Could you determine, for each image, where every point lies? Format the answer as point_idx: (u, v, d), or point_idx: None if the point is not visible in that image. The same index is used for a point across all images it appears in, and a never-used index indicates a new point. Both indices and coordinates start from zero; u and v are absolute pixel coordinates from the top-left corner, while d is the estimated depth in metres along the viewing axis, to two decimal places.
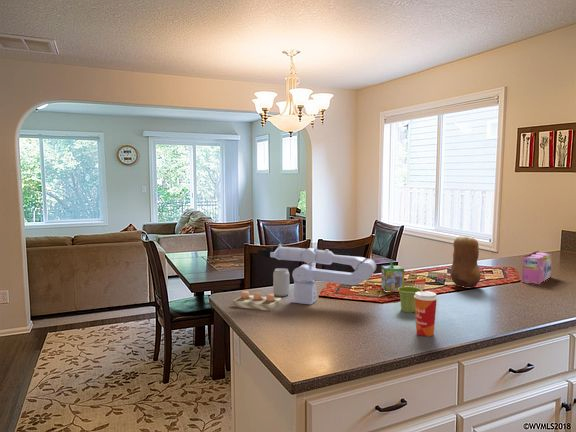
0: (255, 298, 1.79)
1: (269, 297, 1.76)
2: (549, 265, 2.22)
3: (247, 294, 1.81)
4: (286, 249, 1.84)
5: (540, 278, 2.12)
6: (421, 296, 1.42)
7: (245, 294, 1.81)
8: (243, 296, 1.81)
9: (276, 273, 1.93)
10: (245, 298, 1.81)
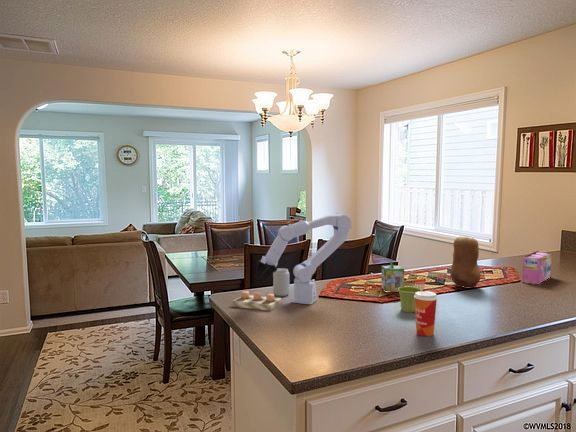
0: (255, 298, 1.79)
1: (269, 297, 1.76)
2: (549, 265, 2.22)
3: (247, 294, 1.81)
4: (269, 250, 1.80)
5: (540, 278, 2.12)
6: (421, 296, 1.42)
7: (245, 294, 1.81)
8: (243, 296, 1.81)
9: (276, 273, 1.93)
10: (245, 298, 1.81)
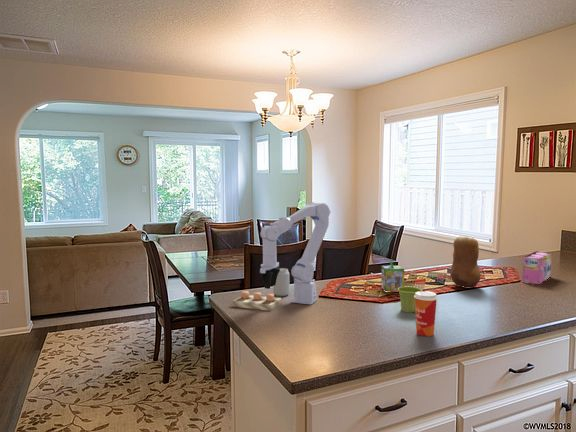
0: (255, 298, 1.79)
1: (269, 297, 1.76)
2: (549, 265, 2.22)
3: (247, 294, 1.81)
4: (263, 257, 1.76)
5: (540, 278, 2.12)
6: (421, 296, 1.42)
7: (245, 294, 1.81)
8: (243, 296, 1.81)
9: None
10: (245, 298, 1.81)
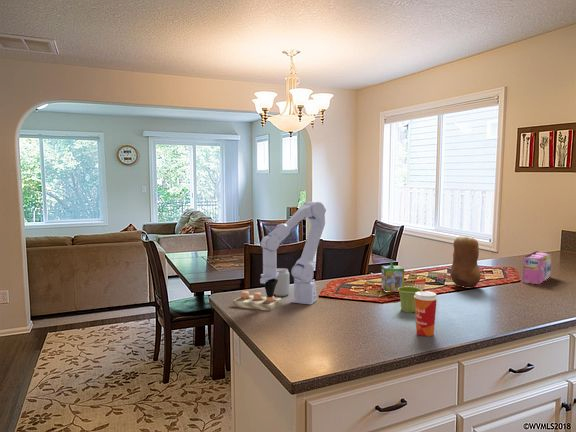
0: (255, 298, 1.79)
1: (269, 299, 1.76)
2: (549, 265, 2.22)
3: (247, 294, 1.81)
4: (263, 267, 1.76)
5: (540, 278, 2.12)
6: (421, 296, 1.42)
7: (245, 294, 1.81)
8: (243, 296, 1.81)
9: None
10: (245, 298, 1.81)
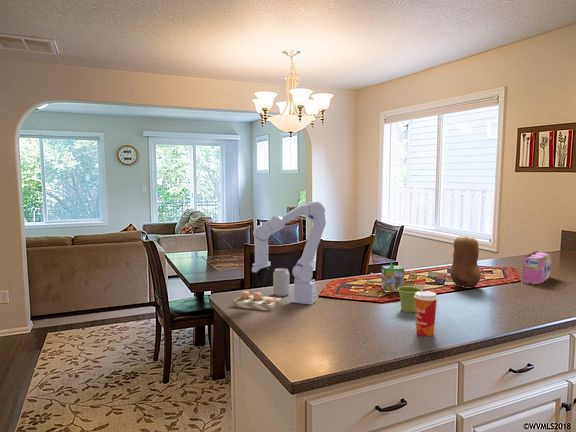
0: (255, 298, 1.79)
1: None
2: (549, 265, 2.22)
3: (247, 294, 1.81)
4: (255, 256, 1.77)
5: (541, 278, 2.12)
6: (421, 296, 1.42)
7: (245, 294, 1.81)
8: (243, 296, 1.81)
9: (276, 273, 1.93)
10: (245, 298, 1.81)
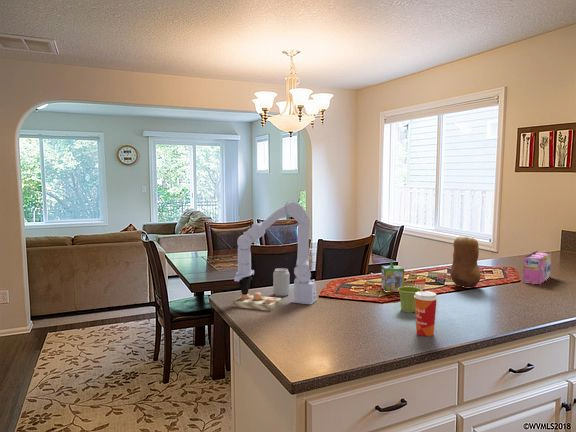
0: (255, 298, 1.79)
1: None
2: (549, 265, 2.22)
3: (247, 296, 1.81)
4: None
5: (541, 278, 2.12)
6: (421, 296, 1.42)
7: (245, 296, 1.81)
8: (243, 298, 1.81)
9: (276, 273, 1.93)
10: None
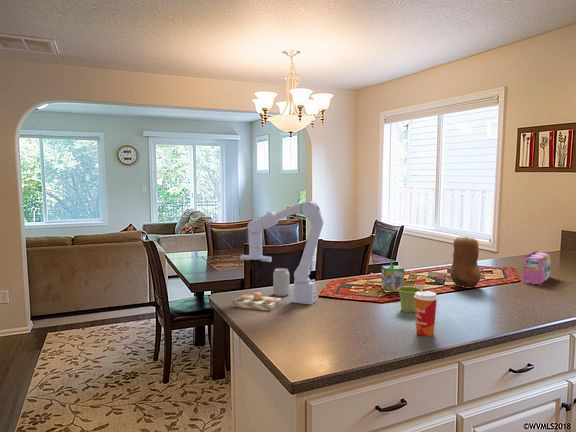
0: (255, 298, 1.79)
1: None
2: (549, 265, 2.22)
3: None
4: None
5: (541, 278, 2.12)
6: (421, 296, 1.42)
7: (245, 299, 1.81)
8: None
9: (276, 273, 1.93)
10: None
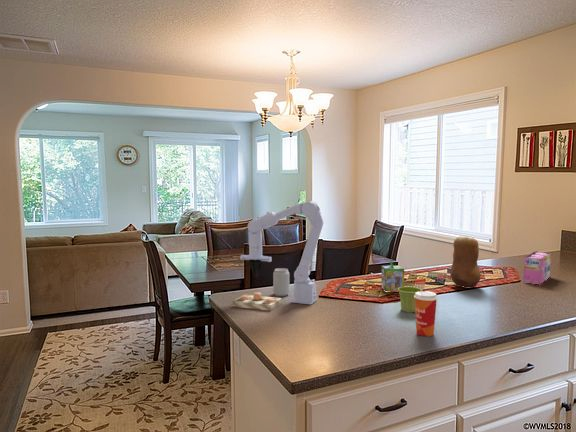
0: (255, 298, 1.79)
1: None
2: (549, 265, 2.22)
3: None
4: None
5: (541, 278, 2.12)
6: (421, 296, 1.42)
7: (245, 299, 1.81)
8: None
9: (276, 273, 1.93)
10: None
